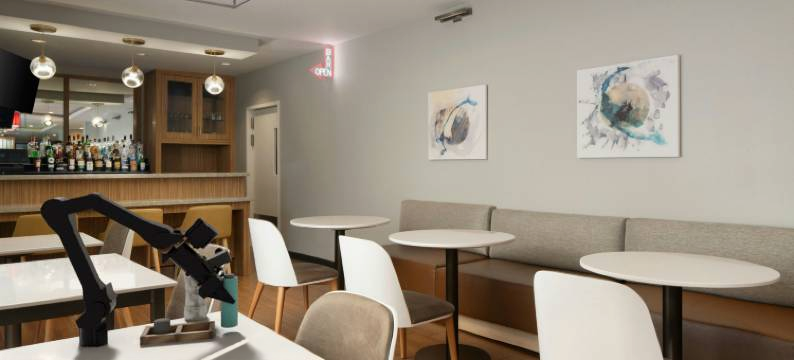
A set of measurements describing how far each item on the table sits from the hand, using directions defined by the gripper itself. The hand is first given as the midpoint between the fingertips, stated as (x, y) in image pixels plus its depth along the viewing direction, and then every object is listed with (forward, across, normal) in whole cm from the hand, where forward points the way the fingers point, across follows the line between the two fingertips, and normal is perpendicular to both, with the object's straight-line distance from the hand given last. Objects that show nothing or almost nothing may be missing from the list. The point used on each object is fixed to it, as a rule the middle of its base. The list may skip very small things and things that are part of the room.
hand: (234, 300), depth 151 cm
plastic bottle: (-1, +16, +15) cm, 22 cm away
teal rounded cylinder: (+4, 0, +6) cm, 7 cm away
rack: (-3, 0, +17) cm, 17 cm away
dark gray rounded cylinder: (-7, 0, +19) cm, 20 cm away
